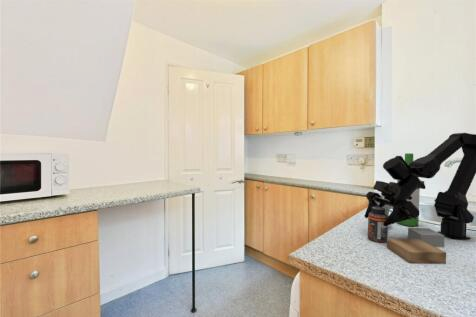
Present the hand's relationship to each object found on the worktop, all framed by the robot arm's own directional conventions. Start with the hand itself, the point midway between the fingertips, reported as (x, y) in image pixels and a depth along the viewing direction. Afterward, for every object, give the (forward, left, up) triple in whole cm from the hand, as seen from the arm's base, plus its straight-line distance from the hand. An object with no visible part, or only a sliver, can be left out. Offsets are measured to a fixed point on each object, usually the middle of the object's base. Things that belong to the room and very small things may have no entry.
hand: (374, 221), depth 82 cm
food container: (-12, -16, -7) cm, 21 cm away
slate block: (-16, +2, -7) cm, 18 cm away
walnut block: (-5, +12, -7) cm, 14 cm away
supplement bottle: (-1, 0, -7) cm, 7 cm away
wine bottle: (-24, -18, -7) cm, 31 cm away
